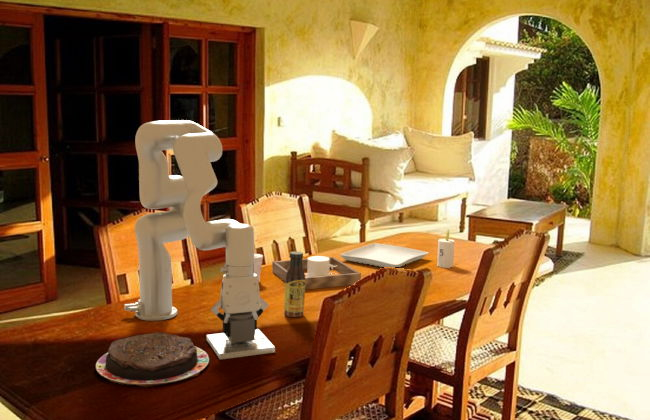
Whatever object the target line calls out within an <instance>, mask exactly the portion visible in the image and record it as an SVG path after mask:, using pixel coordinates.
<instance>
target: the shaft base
mask: <svg viewBox="0 0 650 420" xmlns="http://www.w3.org/2000/svg"><path fill="white" fill-rule="evenodd" d="M206 342H207V343H208V344H209V346H210V347H211V349H212V350H213V352H214V353H215V354H216V356H217V358H218V359H219V360H226V359H234V358H235V359H236V358H243V357H248V356H249V357H250V356H256V355H265V354H273V353H276V347H275V345H274V344H273V343H272V342H271V341H270V340H269V339H268V337H267V336H266V335H265V334H264V333H263V332H262V331H261V330H260V329H259V328H257V330H255V340H252V341H244V342H236V343H231V342H230V340H229V339H228V338H227V336H226V335H225V333H223V332H220V333H212V334H206Z"/></svg>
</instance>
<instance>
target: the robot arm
mask: <svg viewBox="0 0 650 420" xmlns="http://www.w3.org/2000/svg"><path fill="white" fill-rule="evenodd" d="M134 138H135V150H136V153H137V159H138V174H139V175H138V181H139V183H138V184H139V188H138V189H139V192H138V193H139V201H140V203H141V205H142V207H144V208H145V209H148V210H158V209H159V210H160V209H166V208H169V210H166V211H159V212H157V211H156V212H151V213H146V214H144V215H142V216H140V217H138V218H137V220H136V221H135V224H134V233H135V238H136V243H137V251H138V269H139V270H138V272H139V299H137V302H136V301H135V302H134V303H124V305H123V306H124V311H129V312H134V316H135V317H136V318H137V319H139V320H143V321H148V322H150V321H152V322H157V321H165V320H169V319H172V318H174V317H176V316H177V314H178V309H177V308H176V307H175V306H173V287H172V286H173V283H172V280H173V279H172V276H173V275H172V274H173V273H172V272H173V271H172V257H171V253H170V252H169V251H168V249H167V247H166V246H165V244H168V243H173V242H178V241H183V240H185V239H187V238H190V241H191V243H192V244H193V245H194V247H195V248H196V249H198V250H200V251H212V250H216V249H221V248H225V263H224V266H221V267H220V273H224V274H223V275H222V280H221V287H220V297H219V299H218V301H217V302H216V303H215V304H214V305H213V306H212V307H210V311H211V312H212V313H213V314H214V315H215V316H216V317H217V318H218V319H220V320H221V321H222V333H225V335H226V336H227V337H230V323H229V318H230V315H231V314H238V313H247V312H251V313H252V315H253V316H252V317H253V318H254V319H255V330H257V329H258V322H257V320H258V319H259V318H260V316H261V315H262V314H263V312H264V311H265V310H266V309H267V308H268V306H269V303H268V302H266V301H265V299H263V298H262V297H261V296H260V295H261V294H260V285H259V284H260V282H258V277H257V274H255V273H254V254H255V230H254V227H253V226H252V225H250V224H249V223H241V222H239V221H237V220H235V219H231V218H223V219H218V220H217V219H216V220H210V221H205V219H204V216H203V213H202V210H201V208H202V207H201V203H202V199H203V197H204V196H205V195H207V194H208V193H210V192H211V191H213V190H214V189H215V188H216V187H217V185H218V179H217V176H216V173H215V172H214V171H215V170H214V169H213V167H212V162H213V163H214V162H218V160H220V158H221V157H222V156H223V144H222V142H221V139H220V138H219V137H218V136H217V135H216V134H215V133H214V132H212V131H211V130H209V129H207V128H206V127H203V126H202V125H200V124H199V123H196V122H194V121H192V120H187V119H186V120H184V119H181V120H179V119H178V120H177V119H176V120H154V121H153V120H152V121H149V122H148V121H147V122H145V123H142V125H140V126H139V127H138V129H137V131H136V134H135V137H134ZM168 150H169V151H173V155H174V157H175V159H176V162H177V166H178V167H179V170H180V173H181V175H178V174H175V175H173V174H171V175H169V174H170V173H169V166H170V165H169V161H168V157H167V156H166V155H165V154H164V152H163V151H168ZM220 309H222V310H223V313H221V312H220V311H219V310H220Z"/></svg>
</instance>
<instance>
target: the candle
mask: <svg viewBox="0 0 650 420" xmlns="http://www.w3.org/2000/svg"><path fill="white" fill-rule="evenodd" d="M437 243H438V244H437V258H436V259H437V260H436V261H437V262H436V263H437V264H436V265H437V267H438V266H439V267H438V268H441V267H442V269H451V268H450V267H452V268H453V267H454V257H455V256H454V255H455V240H454V239H450V229H447V231H446V234H445V238H440V239H438V241H437Z"/></svg>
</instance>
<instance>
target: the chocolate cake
mask: <svg viewBox="0 0 650 420" xmlns="http://www.w3.org/2000/svg"><path fill="white" fill-rule="evenodd" d="M209 363H210V358H209V354H208V353H207V352H206V350H203V349H202V348H200V347H197V346H196V345H194V343H193V341H192V339H191V338H189V337H186V336H179V335H176V334H170V333H167V332H163V331H158V332H151V333H145V334H144V333H143V334H139V335H138V334H137V335H133V336H130V337H125V338H120V339H116V340H114V341H112V342H111V343H110V346H109V347H108V350H107V352H106V353H104V354H103V355H102V356H100V358H98V359H97V361H96V363H95V371H96V372H97V373H98V374H99V375H100V376H101V377H102V378H105V379H107V380H108V381H109V382H110V383H111V382H113V383H112V384H116V383H118V385H125V384H126V386H130V385H131V386H138V387H142V388H149V386H150V387H154V385H155V386H161V384H162V385H166V384H171V383H176V382H180V381H184V380H188V379H190V378H193V377H197V376H199V375H200V373H201V371H203V370H205V369H206V367H207V366H208V365H209Z"/></svg>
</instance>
